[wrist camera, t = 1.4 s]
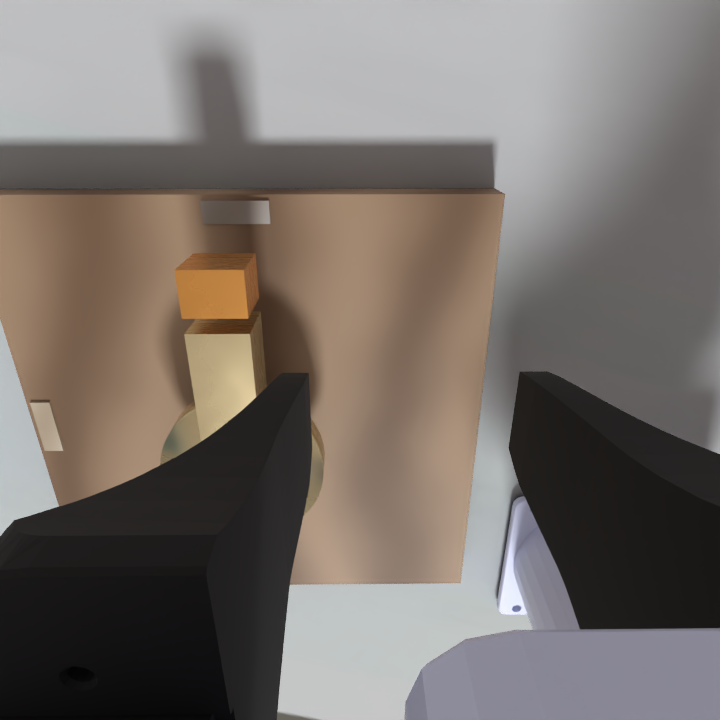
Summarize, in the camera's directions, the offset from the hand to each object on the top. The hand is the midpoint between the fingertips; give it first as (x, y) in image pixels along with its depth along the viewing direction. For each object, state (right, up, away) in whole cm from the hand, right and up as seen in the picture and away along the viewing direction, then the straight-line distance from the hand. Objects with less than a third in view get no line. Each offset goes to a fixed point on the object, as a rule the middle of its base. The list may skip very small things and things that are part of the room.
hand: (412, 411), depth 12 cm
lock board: (-6, -1, +12) cm, 13 cm away
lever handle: (-6, 0, +8) cm, 9 cm away
